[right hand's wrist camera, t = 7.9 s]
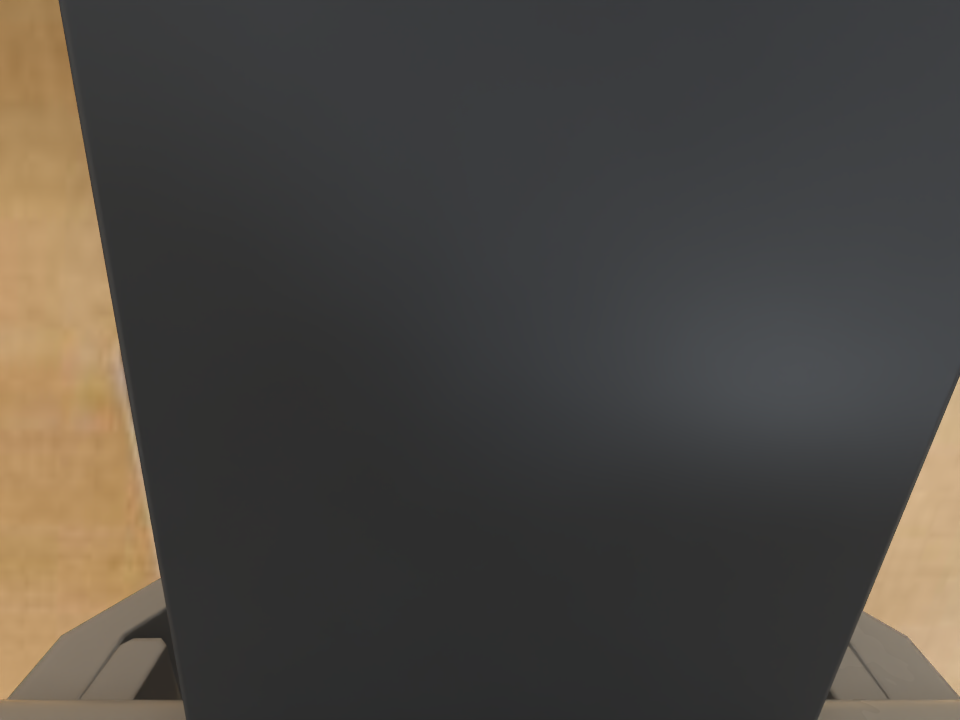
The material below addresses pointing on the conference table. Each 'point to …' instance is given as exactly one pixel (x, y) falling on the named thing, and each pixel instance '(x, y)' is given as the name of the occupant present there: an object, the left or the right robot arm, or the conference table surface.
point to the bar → (524, 340)
